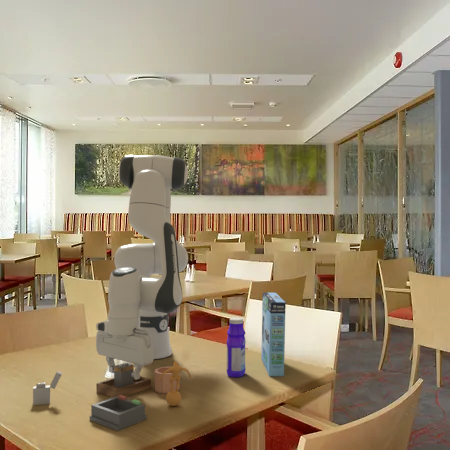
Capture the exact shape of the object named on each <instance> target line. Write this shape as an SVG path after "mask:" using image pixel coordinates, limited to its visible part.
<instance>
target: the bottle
mask: <svg viewBox="0 0 450 450" xmlns="http://www.w3.org/2000/svg"><path fill="white" fill-rule="evenodd" d="M244 328H245V327H244V321H243V318H242V317H238V316H237V317H235V316H234V317H230V318H229V327H228V330H227V331H226V334H227V337H226V339H227V340H226V374H227V376H228V377H231V378H241V377H243V376H244V375H245V373H246V343H247V342H246V337H245V335H246V331H245V329H244Z"/></svg>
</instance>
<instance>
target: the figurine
mask: <svg viewBox="0 0 450 450" xmlns="http://www.w3.org/2000/svg"><path fill="white" fill-rule="evenodd" d="M170 367H171V368H169V369H168V370H166V371H164V372H163V374H162V375H161V376H160V378H159V380H160V379H161V378H162V377H163V375H164V374H165V373H167V372H169V371H172V374H173V377H172V376H170V381H169V382H170V387H171V390H170V391H169V392H168V393H167V394H166V396H165V400H166V403H167V404H168V406H171V407H176V406H178V405H179V404H180V403H181V401H182V394H181V393H180V391H178V387H179V384H178V382H179V381H180V382H181V374H180V375H179V372H180V373H181V371H184V372H186V374H187V375H188V379H192V376H191V373H190V372H189V369H187V368H185V367H183V366H180V365H179V364H178V362H177V360H176V361H174V362H173V365H172V366H170ZM178 375H179V376H178ZM174 379H175V380H176V381H177V384H176V386H177V388H176V390H173V385H172V382H173V381H174Z"/></svg>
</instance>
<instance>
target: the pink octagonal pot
mask: <svg viewBox="0 0 450 450" xmlns="http://www.w3.org/2000/svg"><path fill="white" fill-rule="evenodd" d="M171 367H172V366H161V367H158V368H155V369H154V392H155V393H158V394H166V395H167V393H168V392H169V391H170V390H171V387H170V382H169V381H170V376H172V377H173V374H172V371H169V372H167V373H165V374H164V375H163V377H162V378H161V379H160V380H159V378H160V376H161V375H162V374H163V372H164V371H166V370H168V369H169V368H171ZM179 375H180V376H181V371H180V372H179ZM179 375H178V376H179ZM176 384H177V381H176V380H175V379H174V381H173V382H172V385H173V390H176V388H177V386H176ZM178 384H179V387H178V392H180V390H181V380H180V381H179V382H178Z"/></svg>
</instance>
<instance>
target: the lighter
mask: <svg viewBox="0 0 450 450" xmlns="http://www.w3.org/2000/svg"><path fill="white" fill-rule="evenodd" d="M62 374H63V372H62V371H59V370H57V371H56V372H55V374H54V376H53V379H52V380H51V383H50V384H49V385H46V384H47V383H46V382H38V383H36V384H35V386H33V387H32V405H33V406H38V405H40V406H41V405H49V404H51V389H54V390H55V389H56V387H57V385H58V383H59V380H60V379H61V377H62Z"/></svg>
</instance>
